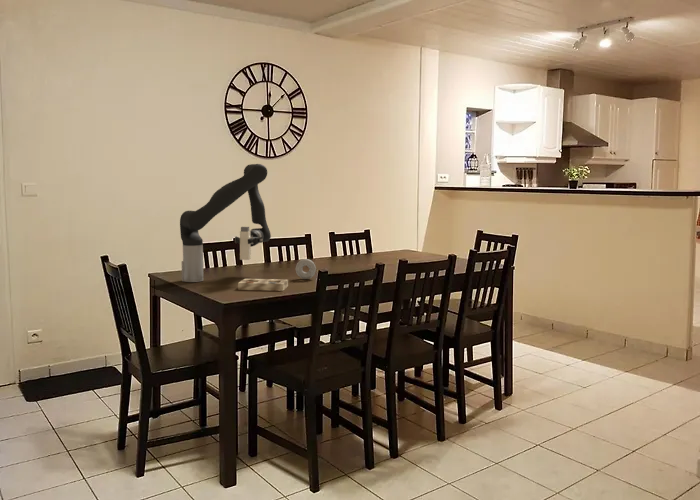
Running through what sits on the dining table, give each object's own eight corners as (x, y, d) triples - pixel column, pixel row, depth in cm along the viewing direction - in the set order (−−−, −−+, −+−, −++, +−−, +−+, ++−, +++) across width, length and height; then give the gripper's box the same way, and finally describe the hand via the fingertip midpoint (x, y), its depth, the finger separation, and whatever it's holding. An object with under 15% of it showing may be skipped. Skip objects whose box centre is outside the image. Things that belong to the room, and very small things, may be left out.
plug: (240, 259, 291) (239, 227, 289) (242, 258, 295) (241, 226, 293) (248, 259, 290) (248, 227, 289) (250, 258, 294) (250, 226, 293)
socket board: (238, 289, 277) (238, 282, 276) (244, 285, 288) (244, 278, 288) (283, 290, 275) (283, 283, 275) (288, 286, 287) (288, 278, 286)
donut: (295, 279, 305) (295, 259, 304) (296, 278, 309) (296, 258, 308) (315, 279, 305) (315, 259, 304) (316, 278, 308) (316, 258, 307)
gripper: (238, 230, 306) (228, 233, 289) (266, 230, 305) (258, 233, 288) (238, 245, 307) (228, 249, 290) (267, 246, 306) (259, 250, 289)
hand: (243, 241), depth 289 cm, fingers closed on plug, 4 cm apart
